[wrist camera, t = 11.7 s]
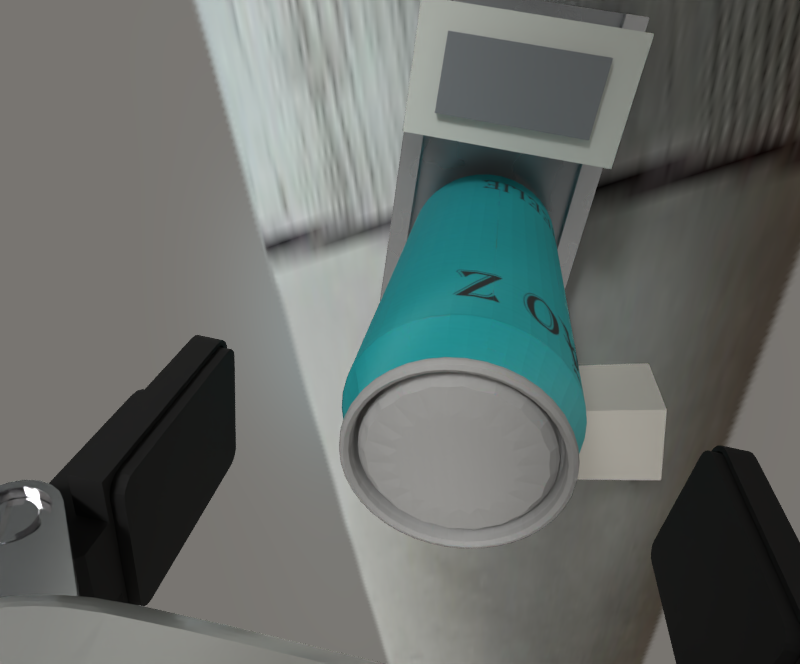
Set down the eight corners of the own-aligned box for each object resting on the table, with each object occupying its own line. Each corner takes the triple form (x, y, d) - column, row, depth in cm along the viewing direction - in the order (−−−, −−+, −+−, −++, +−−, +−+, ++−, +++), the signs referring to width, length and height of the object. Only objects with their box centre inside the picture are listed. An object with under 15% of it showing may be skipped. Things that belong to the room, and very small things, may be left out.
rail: (431, -16, 23) (425, -19, 21) (639, 17, 22) (649, 17, 20) (375, 368, 32) (367, 388, 30) (522, 399, 31) (523, 422, 29)
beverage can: (502, 311, 27) (493, 592, 14) (395, 249, 27) (285, 484, 14) (580, 209, 24) (657, 444, 11) (462, 136, 24) (402, 298, 11)
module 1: (437, -1, 22) (420, -5, 17) (628, 30, 21) (656, 33, 17) (420, 112, 24) (401, 132, 19) (594, 143, 23) (612, 171, 19)
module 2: (543, 365, 30) (548, 411, 26) (648, 362, 29) (666, 409, 25) (545, 428, 32) (550, 479, 28) (644, 427, 31) (660, 480, 27)
